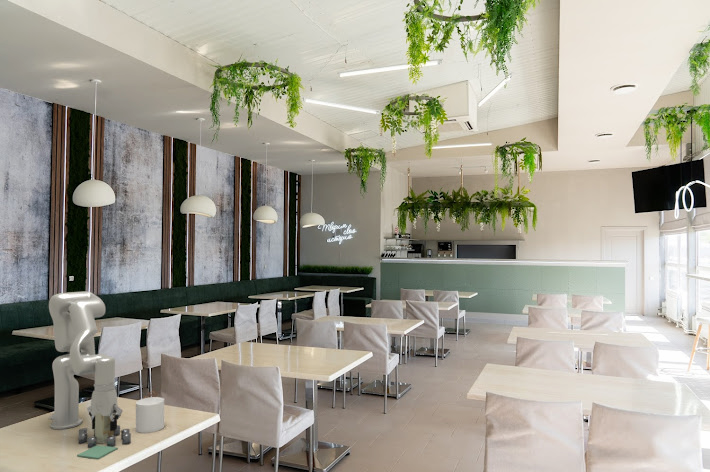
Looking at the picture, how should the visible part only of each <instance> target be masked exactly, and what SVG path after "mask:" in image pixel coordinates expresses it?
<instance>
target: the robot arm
mask: <svg viewBox="0 0 710 472" xmlns="http://www.w3.org/2000/svg"><path fill="white" fill-rule="evenodd" d="M103 301H104V300H102V299H101V297H99V296H97V295H96V294H94V293H93V292H91V291H74V292H73V291H72V292H71V291H70V292H61V293H57V294H53V295H52V296H51V297H50V299H49V301H48V310H49V315H50V316H51V319H52V323H53V337H54V346H55V349H56V351H57V352H60V353H64V352H69V353H67V354H63V355H59V356H57V357H56V358H55V359H54V360H53V362H52V366H51V367H52V372H53V379H54V412H53V413H51V414H50V415H49V417H48V420H52V422H51V423H50V424H49V427H50V429H53V430H66V429H71V428H74V427H77V426H80V425H81V424H82V423H83V419H82V418H81V417H79V407H80V405H79V395H80V393H79V392H80V391H79V390H80V389H79V388H80V383H79V382H78V380H77V378H75V377H74V375H77V376H86V375H90V374H91V375H93V374H94V384H93V387H94V390H93V391H92V394H91V400H90V406H88V407H87V408H86V410H87V413H88V415H89V417H90V420H91V429H92V430H94V429H95V413H101V414H102V416H104V417H108V416H109V417H110V419H111V422H110V431H114V430H116V429H117V425H118V420H119V418H120V417H121V415H122V413H123V411H124V410H123V409H121V407H119V406H118V404H119V403H118V397H117V396H118V395H117V390H116V386H115V385H116V360H115V358H114V357H113V356H109V355H108V354H106V353H97V354H96V350H95V349H96V347H95V346H96V345H95V337H94V336H95V335H97V333H98V327H97V324H96V320H95V319H96V318H101V317H103V316H104V315H105V314H106V305H105V303H104V302H103ZM113 415H114V417H113Z"/></svg>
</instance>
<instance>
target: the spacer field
mask: <svg viewBox="0 0 710 472" xmlns="http://www.w3.org/2000/svg"><path fill="white" fill-rule="evenodd" d="M131 435H132V433H131V431H130V428H124V429H123V428H122V429H121V425H119V424H117V429H116V430H114V431H113V436H109V437H107V442H106V446H109V447H116V438H117V437H118V436H120V439H121V445H129V444H131V442H132V441H131V440H132V439H131V437H132V436H131ZM78 444H79V445H83V444H87V448H88V449H90V448H92V447H94V446H96V445H98V443H97V437H96V436H95V429H93V436H89V437H88V428H86V427H84V428H79V429H78Z"/></svg>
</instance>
